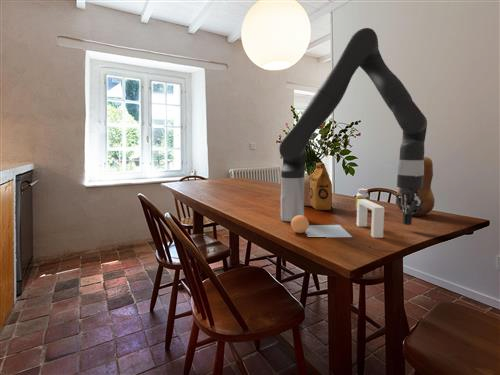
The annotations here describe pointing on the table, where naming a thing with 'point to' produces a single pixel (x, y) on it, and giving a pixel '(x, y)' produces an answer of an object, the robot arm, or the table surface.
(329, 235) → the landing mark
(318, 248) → the table surface
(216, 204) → the table surface
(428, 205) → the butternut squash
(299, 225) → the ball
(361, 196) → the supplement bottle
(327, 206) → the coffee package
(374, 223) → the bridge
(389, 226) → the table surface
